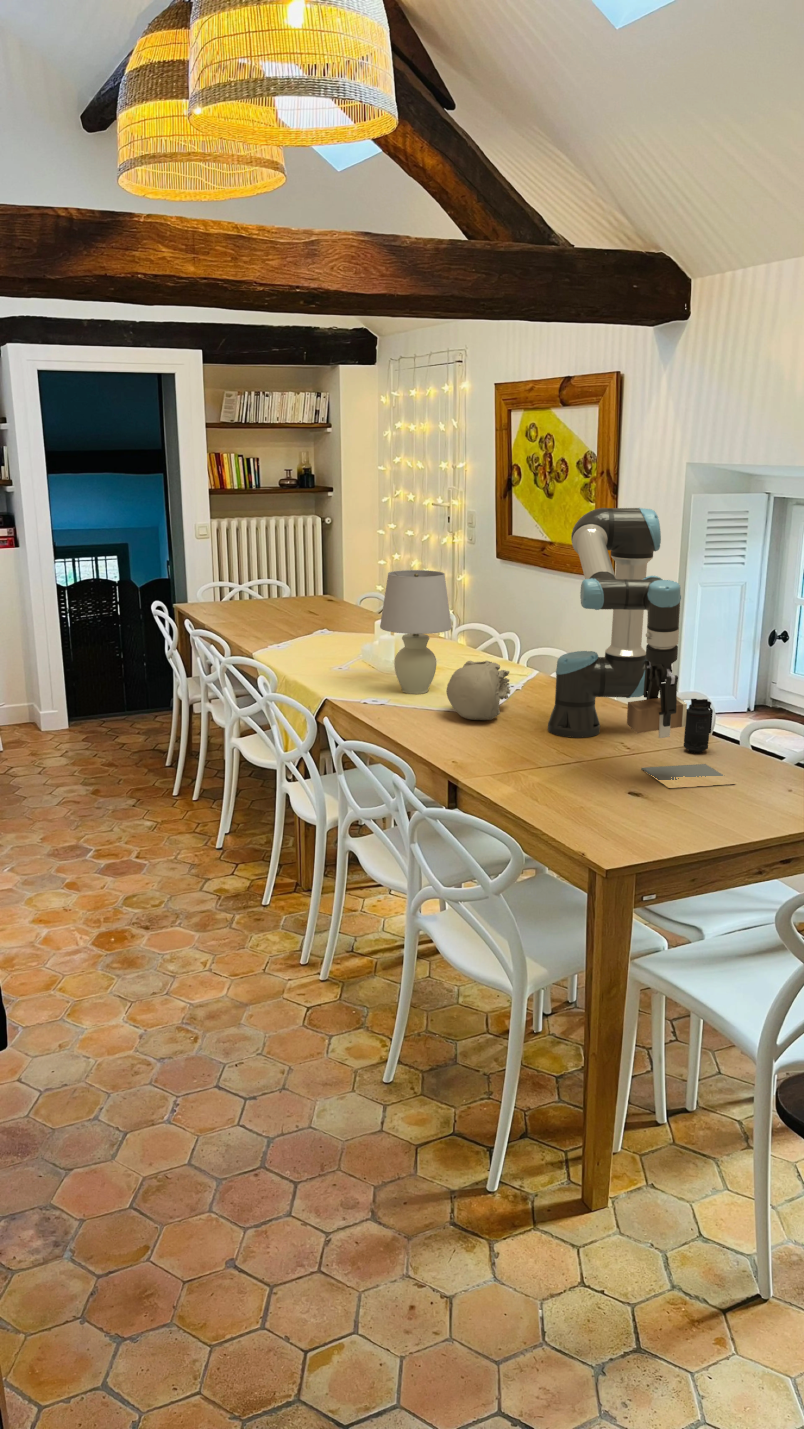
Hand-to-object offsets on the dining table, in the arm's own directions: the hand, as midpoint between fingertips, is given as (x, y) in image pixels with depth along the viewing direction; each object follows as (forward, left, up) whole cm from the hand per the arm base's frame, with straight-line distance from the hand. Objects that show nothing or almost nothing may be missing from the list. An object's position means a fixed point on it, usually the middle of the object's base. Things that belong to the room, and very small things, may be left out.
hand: (658, 731), depth 268 cm
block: (+1, -8, +4) cm, 9 cm away
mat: (+1, +8, -12) cm, 15 cm away
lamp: (-104, -40, -12) cm, 112 cm away
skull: (-68, -28, -12) cm, 74 cm away
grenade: (-20, +21, -12) cm, 32 cm away
